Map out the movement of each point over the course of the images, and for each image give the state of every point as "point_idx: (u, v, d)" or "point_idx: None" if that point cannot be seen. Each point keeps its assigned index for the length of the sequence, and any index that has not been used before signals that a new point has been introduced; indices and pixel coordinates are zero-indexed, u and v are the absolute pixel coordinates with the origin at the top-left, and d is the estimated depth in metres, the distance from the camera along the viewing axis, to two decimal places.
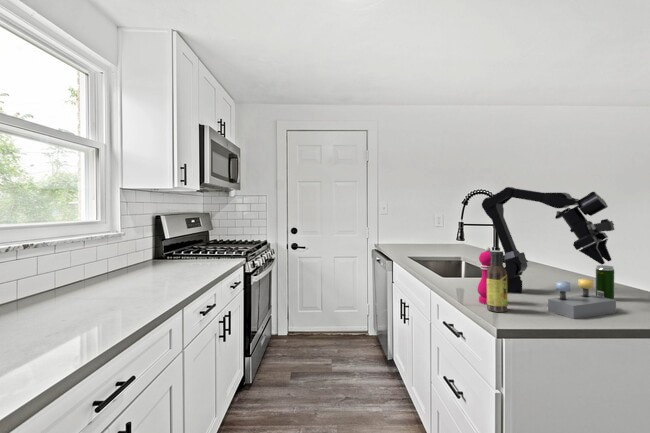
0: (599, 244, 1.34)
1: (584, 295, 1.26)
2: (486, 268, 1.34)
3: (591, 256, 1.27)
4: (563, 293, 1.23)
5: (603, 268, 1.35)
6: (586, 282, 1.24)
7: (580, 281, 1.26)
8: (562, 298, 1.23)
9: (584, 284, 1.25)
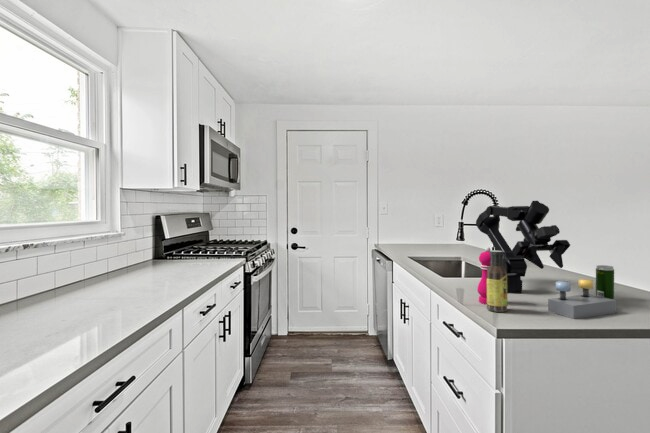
0: (554, 252, 1.32)
1: (584, 295, 1.26)
2: (486, 268, 1.34)
3: (532, 261, 1.31)
4: (563, 293, 1.23)
5: (603, 268, 1.35)
6: (586, 282, 1.24)
7: (580, 281, 1.26)
8: (562, 298, 1.23)
9: (584, 284, 1.25)
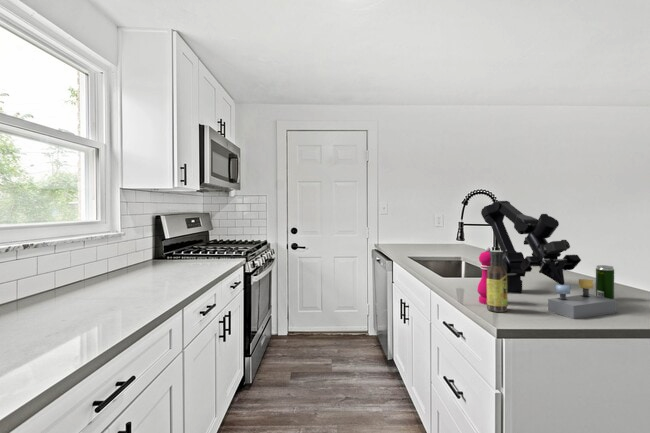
0: (555, 267, 1.27)
1: (584, 295, 1.26)
2: (486, 268, 1.34)
3: (551, 277, 1.26)
4: (563, 296, 1.23)
5: (603, 268, 1.35)
6: (586, 282, 1.24)
7: (580, 281, 1.26)
8: None
9: (584, 284, 1.25)
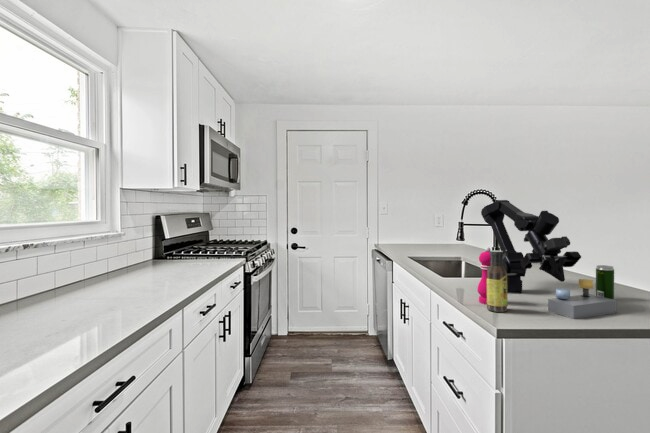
0: None
1: (584, 295, 1.26)
2: (486, 268, 1.34)
3: (551, 274, 1.26)
4: None
5: (603, 268, 1.35)
6: (586, 282, 1.24)
7: (580, 281, 1.26)
8: None
9: (584, 284, 1.25)
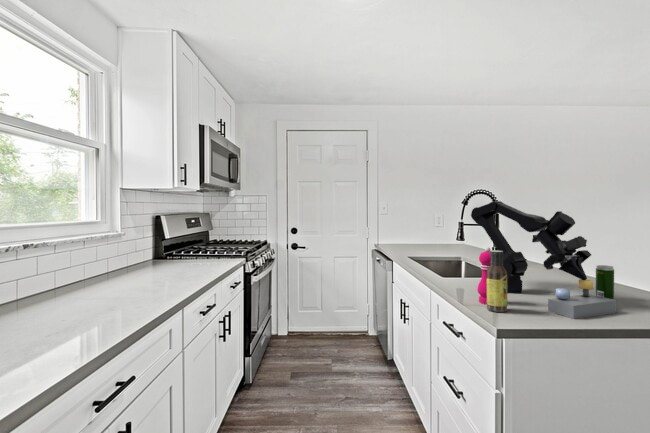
0: None
1: (584, 295, 1.26)
2: (486, 268, 1.34)
3: (572, 273, 1.29)
4: None
5: (603, 268, 1.35)
6: (586, 282, 1.24)
7: (580, 281, 1.26)
8: None
9: (584, 284, 1.25)
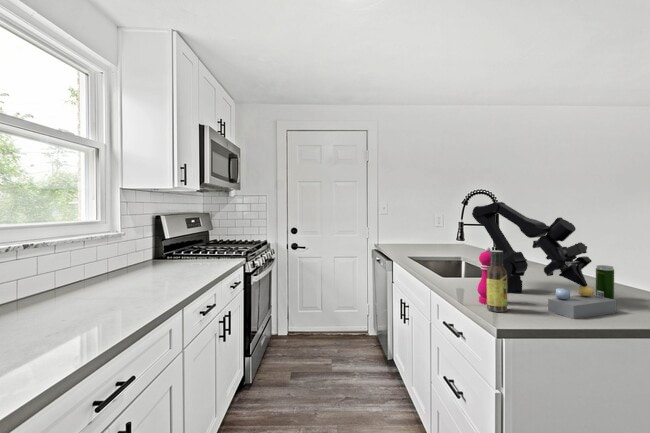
0: None
1: None
2: (486, 268, 1.34)
3: (572, 279, 1.29)
4: None
5: (603, 268, 1.35)
6: (586, 289, 1.25)
7: (580, 288, 1.26)
8: None
9: (584, 291, 1.25)
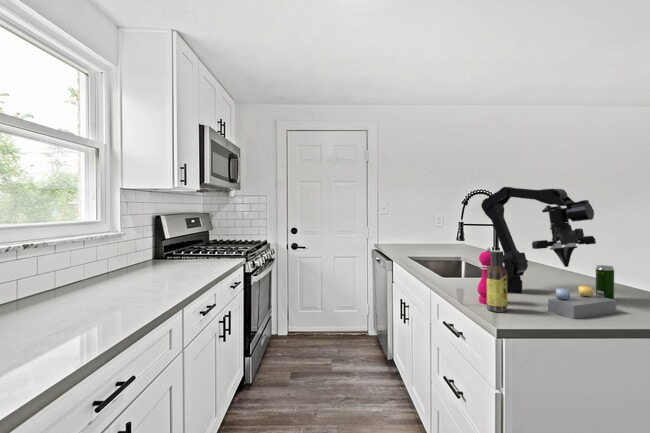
0: (566, 249, 1.34)
1: None
2: (486, 268, 1.34)
3: (559, 256, 1.36)
4: None
5: (603, 268, 1.35)
6: (586, 289, 1.25)
7: (580, 288, 1.26)
8: None
9: (584, 291, 1.25)
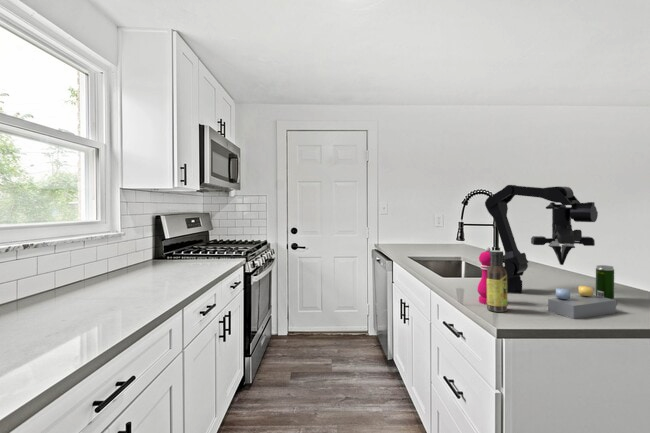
0: (563, 247, 1.36)
1: None
2: (486, 268, 1.34)
3: (556, 254, 1.38)
4: None
5: (603, 268, 1.35)
6: (586, 289, 1.25)
7: (580, 288, 1.26)
8: None
9: (584, 291, 1.25)
